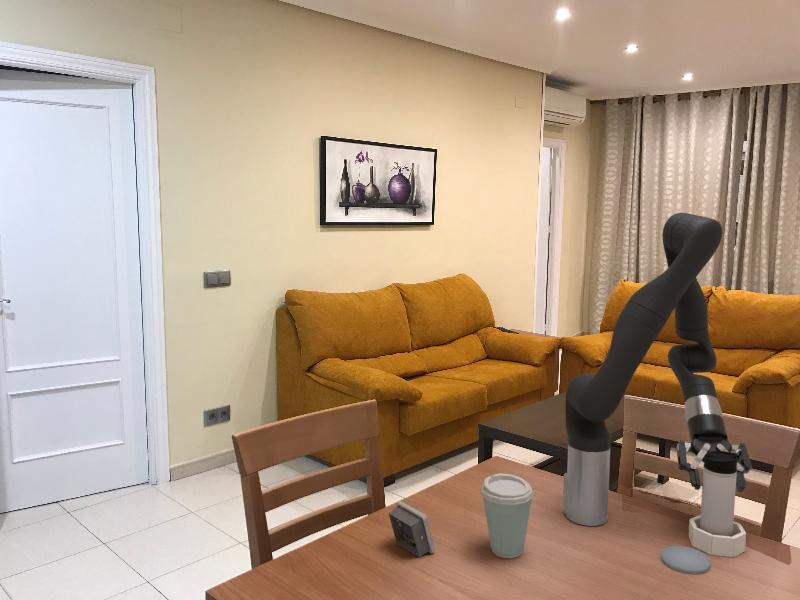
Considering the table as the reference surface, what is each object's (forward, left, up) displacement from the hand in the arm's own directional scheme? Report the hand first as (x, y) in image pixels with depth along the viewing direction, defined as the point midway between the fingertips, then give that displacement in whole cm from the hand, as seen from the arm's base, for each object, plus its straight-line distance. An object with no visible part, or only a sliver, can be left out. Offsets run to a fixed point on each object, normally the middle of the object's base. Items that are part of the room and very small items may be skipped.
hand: (719, 489), depth 134 cm
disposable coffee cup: (-21, -40, -12) cm, 47 cm away
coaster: (+1, -12, -12) cm, 17 cm away
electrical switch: (-32, -56, -12) cm, 66 cm away
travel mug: (0, 0, -12) cm, 12 cm away
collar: (0, 0, -12) cm, 12 cm away
